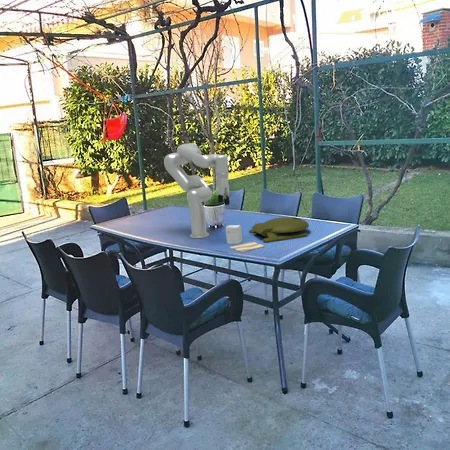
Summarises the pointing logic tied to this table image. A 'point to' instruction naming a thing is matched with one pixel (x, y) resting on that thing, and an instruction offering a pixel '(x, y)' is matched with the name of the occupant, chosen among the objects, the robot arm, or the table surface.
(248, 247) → the board
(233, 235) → the small box
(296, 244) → the table surface
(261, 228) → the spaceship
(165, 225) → the table surface
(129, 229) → the table surface
